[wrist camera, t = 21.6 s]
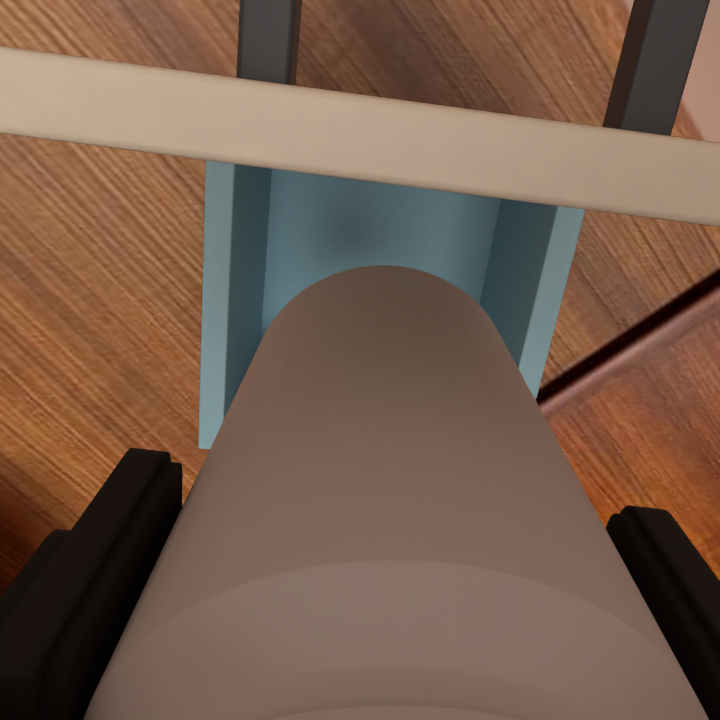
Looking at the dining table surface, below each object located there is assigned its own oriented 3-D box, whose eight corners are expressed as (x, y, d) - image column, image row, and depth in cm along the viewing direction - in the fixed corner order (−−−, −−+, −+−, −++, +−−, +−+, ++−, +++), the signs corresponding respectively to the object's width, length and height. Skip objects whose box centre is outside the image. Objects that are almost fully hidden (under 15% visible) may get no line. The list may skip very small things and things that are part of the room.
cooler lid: (1025, 268, 6) (1414, -463, 4) (-125, 118, 6) (-259, -753, 4) (602, 170, 18) (656, -42, 16) (202, 118, 18) (208, -107, 16)
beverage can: (553, 330, 15) (1019, 908, 4) (424, 516, 18) (513, 1212, 7) (326, 209, 14) (170, 558, 3) (220, 422, 17) (-89, 1062, 5)
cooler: (476, 385, 31) (514, 485, 23) (244, 357, 31) (197, 448, 23) (529, 139, 27) (600, 155, 18) (258, 103, 26) (206, 103, 18)
